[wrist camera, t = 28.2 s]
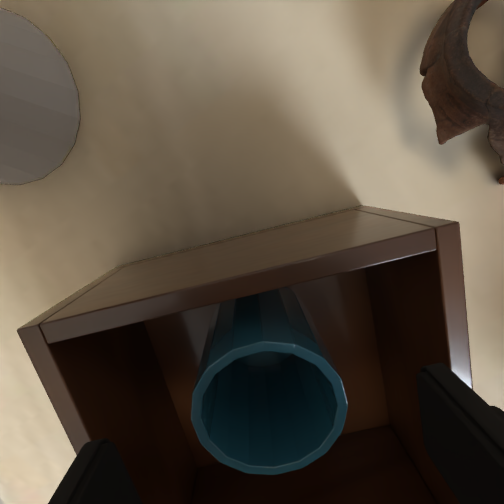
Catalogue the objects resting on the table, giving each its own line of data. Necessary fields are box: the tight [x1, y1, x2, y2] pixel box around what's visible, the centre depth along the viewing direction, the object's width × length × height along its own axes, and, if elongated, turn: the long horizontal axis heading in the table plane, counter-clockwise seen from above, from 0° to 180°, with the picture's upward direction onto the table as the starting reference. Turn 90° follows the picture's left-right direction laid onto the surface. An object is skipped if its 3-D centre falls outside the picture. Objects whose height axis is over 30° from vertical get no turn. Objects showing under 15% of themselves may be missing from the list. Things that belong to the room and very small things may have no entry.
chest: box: [17, 205, 473, 504], centre depth 15 cm, size 16×15×8 cm
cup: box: [191, 287, 348, 475], centre depth 14 cm, size 6×6×7 cm
